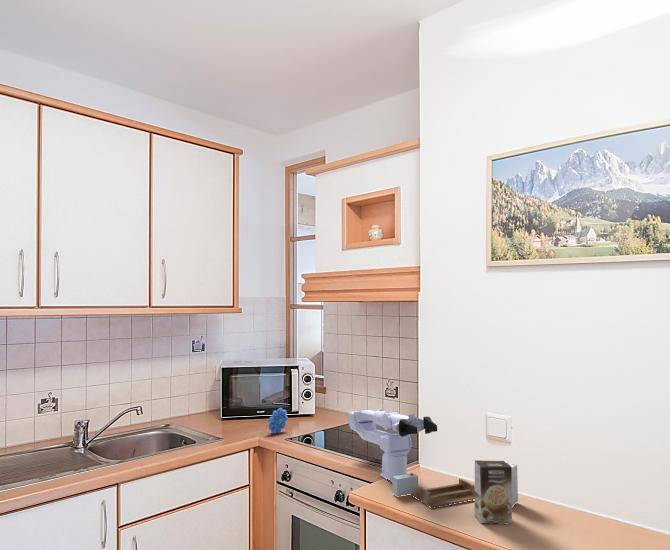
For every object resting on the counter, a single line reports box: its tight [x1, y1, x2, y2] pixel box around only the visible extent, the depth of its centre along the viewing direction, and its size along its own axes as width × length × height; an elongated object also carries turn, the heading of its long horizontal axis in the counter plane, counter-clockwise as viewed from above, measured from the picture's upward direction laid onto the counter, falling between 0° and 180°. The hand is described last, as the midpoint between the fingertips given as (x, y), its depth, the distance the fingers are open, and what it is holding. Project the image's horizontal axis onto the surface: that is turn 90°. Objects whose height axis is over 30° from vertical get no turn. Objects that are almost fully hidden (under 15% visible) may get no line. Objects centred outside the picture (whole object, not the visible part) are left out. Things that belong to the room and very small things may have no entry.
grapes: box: [267, 407, 289, 434], centre depth 247 cm, size 12×7×12 cm, turn 136°
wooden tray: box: [411, 478, 475, 509], centre depth 164 cm, size 11×18×4 cm, turn 114°
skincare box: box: [504, 461, 519, 506], centre depth 160 cm, size 6×4×12 cm
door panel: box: [391, 472, 419, 496], centre depth 168 cm, size 3×8×6 cm, turn 114°
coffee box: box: [473, 459, 513, 524], centre depth 148 cm, size 9×6×16 cm
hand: (426, 429), depth 166 cm, fingers open, 7 cm apart
